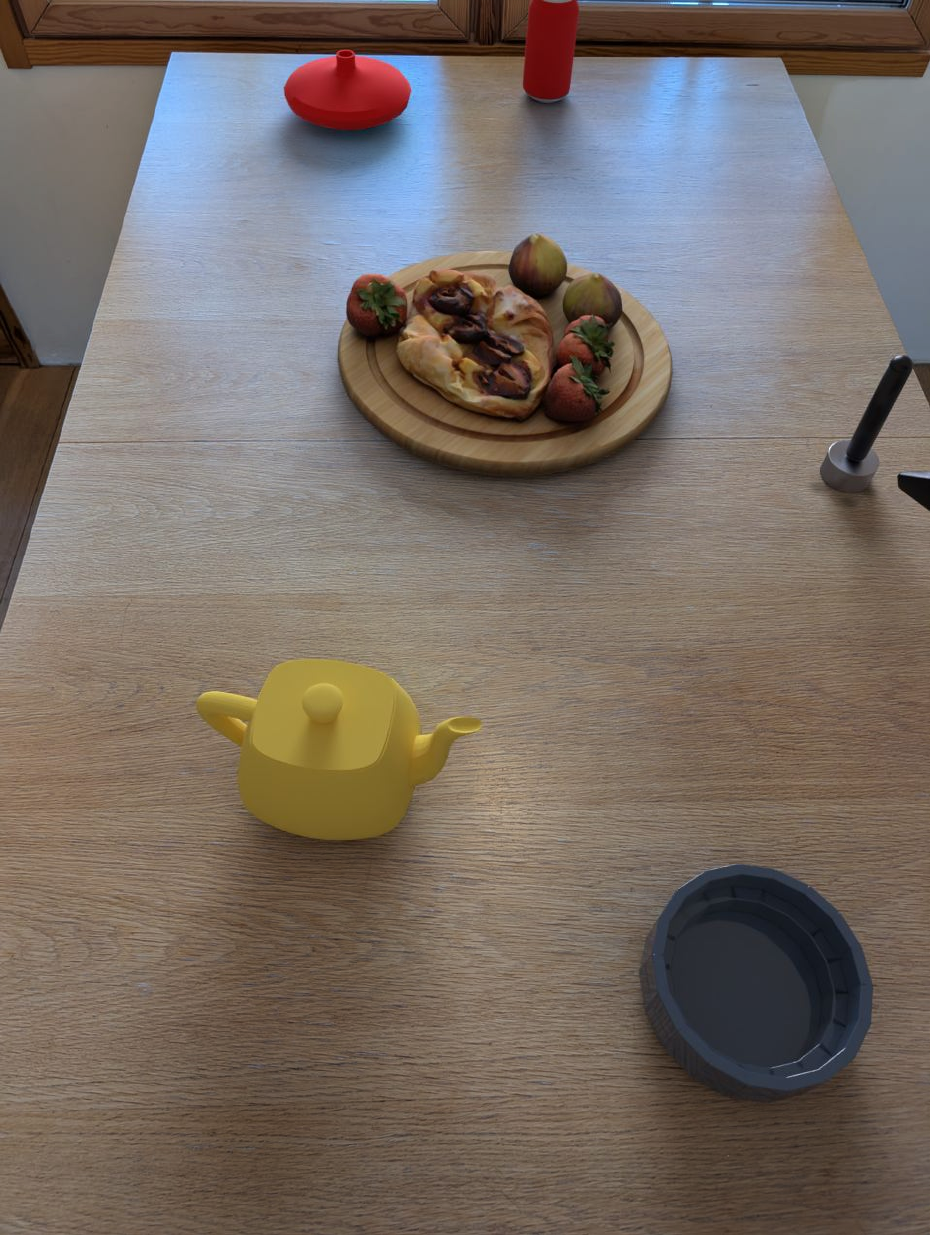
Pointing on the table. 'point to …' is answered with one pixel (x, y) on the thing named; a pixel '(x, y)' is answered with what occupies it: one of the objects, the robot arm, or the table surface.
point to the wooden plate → (503, 360)
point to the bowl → (755, 984)
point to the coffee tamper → (865, 434)
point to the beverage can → (550, 48)
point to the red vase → (347, 92)
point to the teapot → (330, 748)
